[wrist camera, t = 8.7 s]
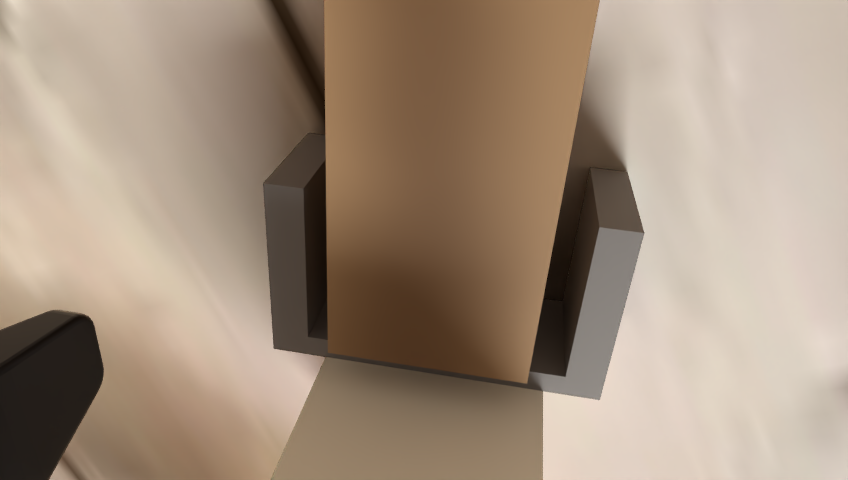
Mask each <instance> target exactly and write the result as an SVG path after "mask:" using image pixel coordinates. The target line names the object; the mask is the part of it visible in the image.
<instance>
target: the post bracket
mask: <svg viewBox="0 0 848 480" xmlns="http://www.w3.org/2000/svg"><path fill="white" fill-rule="evenodd" d="M263 187H264V203H265V219H266V234H267V250H268V266H269V281H270V297H271V313H272V329H273V344H274V349H279V350H285V351H292V352H298V353H304V354H311V355H317V356H323V357H325V360H324V362H323V364H322V366H321V369H320V371H319V373H318V375H317V377H316V380H315V382H314V384H313V386H312V389H311V391H310V393H309V395H308V398H307V400H306V402H305V404H304V406H303V409H302V411H301V413H300V415H299V418H298V420H297V422H296V424H295V427H294V429H293V431H292V433H291V435H290V438H289V440H288V442H287V444H286V447H285V449H284V451H283V453H282V456H281V458H280V460H279V462H278V464H277V467H276V469H275V471H274V473H273V476H272V478H271V480H543V391H546V392H552V393H558V394H565V395H571V396H577V397H584V398H590V399H596V400H600V397H601V393H602V389H603V385H604V382H605V378H606V374H607V371H608V367H609V363H610V359H611V356H612V352H613V348H614V344H615V341H616V337H617V333H618V329H619V326H620V322H621V318H622V314H623V311H624V307H625V303H626V299H627V296H628V292H629V288H630V284H631V281H632V277H633V273H634V269H635V266H636V262H637V258H638V254H639V251H640V247H641V243H642V240H643V236H644V231H643V227H642V223H641V220H640V216H639V212H638V209H637V205H636V201H635V198H634V194H633V191H632V187H631V183H630V180H629V176H628V172H624V171H615V170H607V169H599V168H591V167H590V171H589V176H588V181H587V186H586V190H585V195H584V200H583V205H582V210H581V214H580V219H579V224H578V229H577V234H576V238H575V243H574V248H573V253H572V258H571V263H570V267H569V272H568V277H567V282H566V287H565V291H564V296H563V301H555V300H548V299H543V302H542V307H541V313H540V318H539V323H538V328H537V334H536V339H535V344H534V350H533V355H532V360H531V365H530V371H529V376H528V381H527V384H526V383H519V382H513V381H506V380H500V379H494V378H487V377H481V376H474V375H468V374H462V373H455V372H449V371H442V370H436V369H430V368H423V367H417V366H410V365H404V364H398V363H391V362H385V361H378V360H372V359H365V358H359V357H353V356H346V355H340V354H333V353H328V320H327V229H326V138H325V135H319V134H310V133H308V134H307V135H306V136H305V137H304V138H303V140H302V141H301V142H300V143H299V144H298V145H297V146H296V147H295V149H294V150H293V151H292V152H291V153H290V154H289V155H288V156H287V157H286V159H285V160H284V161H283V162H282V163H281V164H280V165H279V166H278V168H277V169H276V170H275V171H274V172H273V173H272V174H271V175H270V176H269V178H268V179H267V180H266V181H265V182H264V183H263Z"/></svg>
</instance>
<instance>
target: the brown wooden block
mask: <svg viewBox="0 0 848 480" xmlns="http://www.w3.org/2000/svg"><path fill="white" fill-rule="evenodd" d="M599 1H600V0H324V47H325V138H326V229H327V320H328V353H333V354H340V355H346V356H353V357H359V358H365V359H372V360H378V361H385V362H391V363H398V364H404V365H410V366H417V367H423V368H430V369H436V370H442V371H449V372H455V373H462V374H468V375H474V376H481V377H487V378H494V379H500V380H506V381H513V382H519V383H526V384H527V381H528V376H529V371H530V365H531V360H532V355H533V350H534V344H535V339H536V334H537V328H538V323H539V318H540V313H541V307H542V302H543V297H544V291H545V286H546V281H547V276H548V270H549V265H550V260H551V254H552V249H553V244H554V239H555V233H556V228H557V223H558V218H559V212H560V207H561V202H562V196H563V191H564V186H565V181H566V175H567V170H568V165H569V159H570V154H571V149H572V144H573V138H574V133H575V128H576V122H577V117H578V112H579V107H580V101H581V96H582V91H583V85H584V80H585V75H586V70H587V64H588V59H589V54H590V49H591V43H592V38H593V33H594V27H595V22H596V17H597V12H598V6H599Z"/></svg>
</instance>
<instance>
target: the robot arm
mask: <svg viewBox="0 0 848 480" xmlns="http://www.w3.org/2000/svg"><path fill="white" fill-rule="evenodd" d="M103 372H104V368H103V362H102V358H101V353H100V349H99V344H98V340H97V336H96V331H95V327H94V324H93V321H92V320H91V319H90V318H89V316H87V315H85V314H81V313H75V312H69V311H63V310H51V311H48V312H45V313H43V314H40V315H38V316H35V317H32V318H30V319H27V320H25V321H22V322H19V323H17V324H14V325H12V326H9V327H7V328H4V329H1V330H0V480H49V479H50V477H51V475H52V473H53V471H54V470H55V468H56V466H57V464H58V462H59V461H60V459H61V457H62V455H63V453H64V452H65V450H66V448H67V446H68V444H69V443H70V441H71V439H72V437H73V435H74V434H75V432H76V430H77V428H78V427H79V425H80V423H81V421H82V419H83V418H84V416H85V414H86V412H87V410H88V409H89V407H90V405H91V403H92V401H93V400H94V398H95V396H96V394H97V392H98V391H99V388H100V386H101V383H102V380H103Z"/></svg>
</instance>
